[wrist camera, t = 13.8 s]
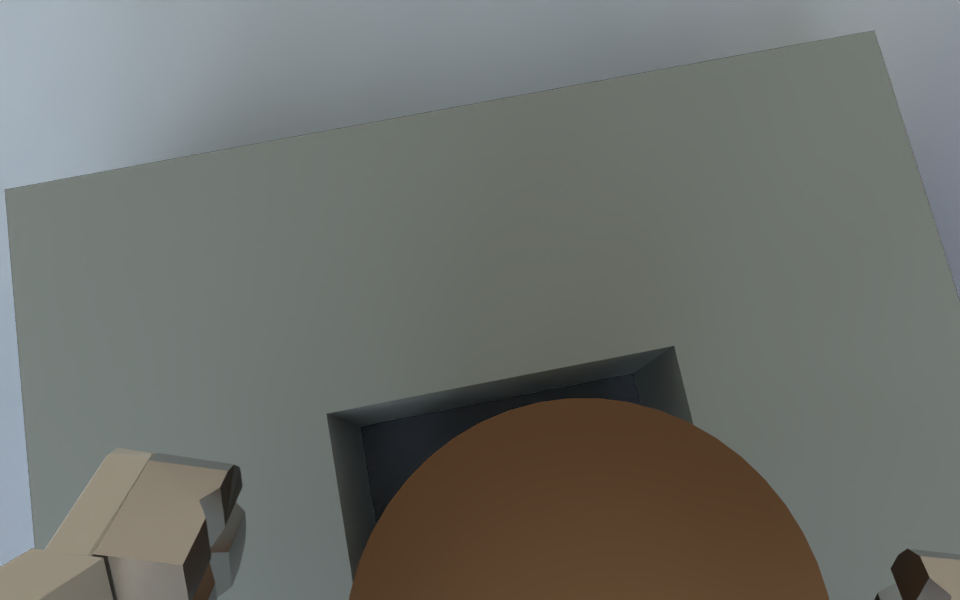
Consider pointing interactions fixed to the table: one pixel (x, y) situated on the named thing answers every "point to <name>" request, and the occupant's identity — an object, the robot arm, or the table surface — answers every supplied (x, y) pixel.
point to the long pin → (586, 515)
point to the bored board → (513, 301)
